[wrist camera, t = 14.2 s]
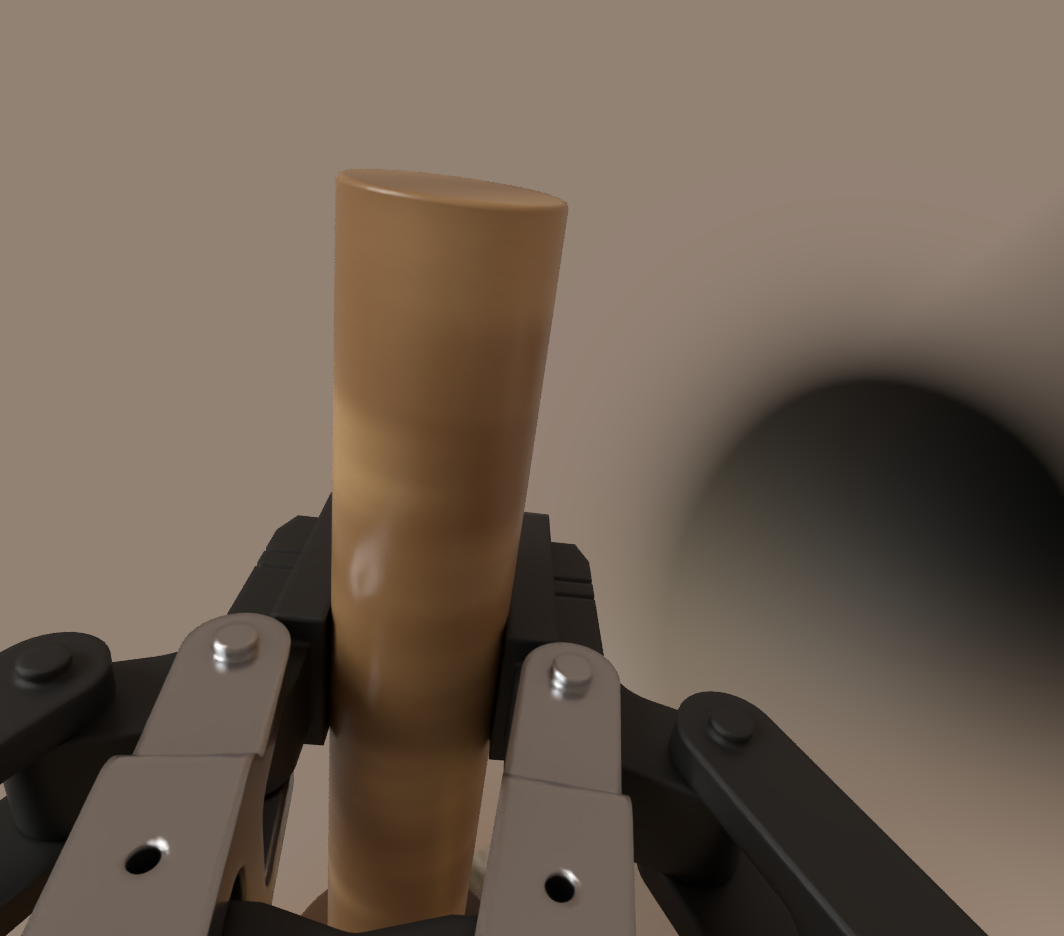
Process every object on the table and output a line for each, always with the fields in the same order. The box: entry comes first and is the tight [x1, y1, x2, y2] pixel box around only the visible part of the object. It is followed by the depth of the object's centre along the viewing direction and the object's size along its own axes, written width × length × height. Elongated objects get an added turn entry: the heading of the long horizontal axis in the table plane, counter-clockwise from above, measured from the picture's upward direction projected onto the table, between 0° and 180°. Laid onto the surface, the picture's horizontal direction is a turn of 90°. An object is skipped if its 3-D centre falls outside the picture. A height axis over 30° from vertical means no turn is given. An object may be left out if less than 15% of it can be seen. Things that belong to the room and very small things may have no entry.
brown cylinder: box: [301, 169, 568, 933], centre depth 12 cm, size 4×4×20 cm
